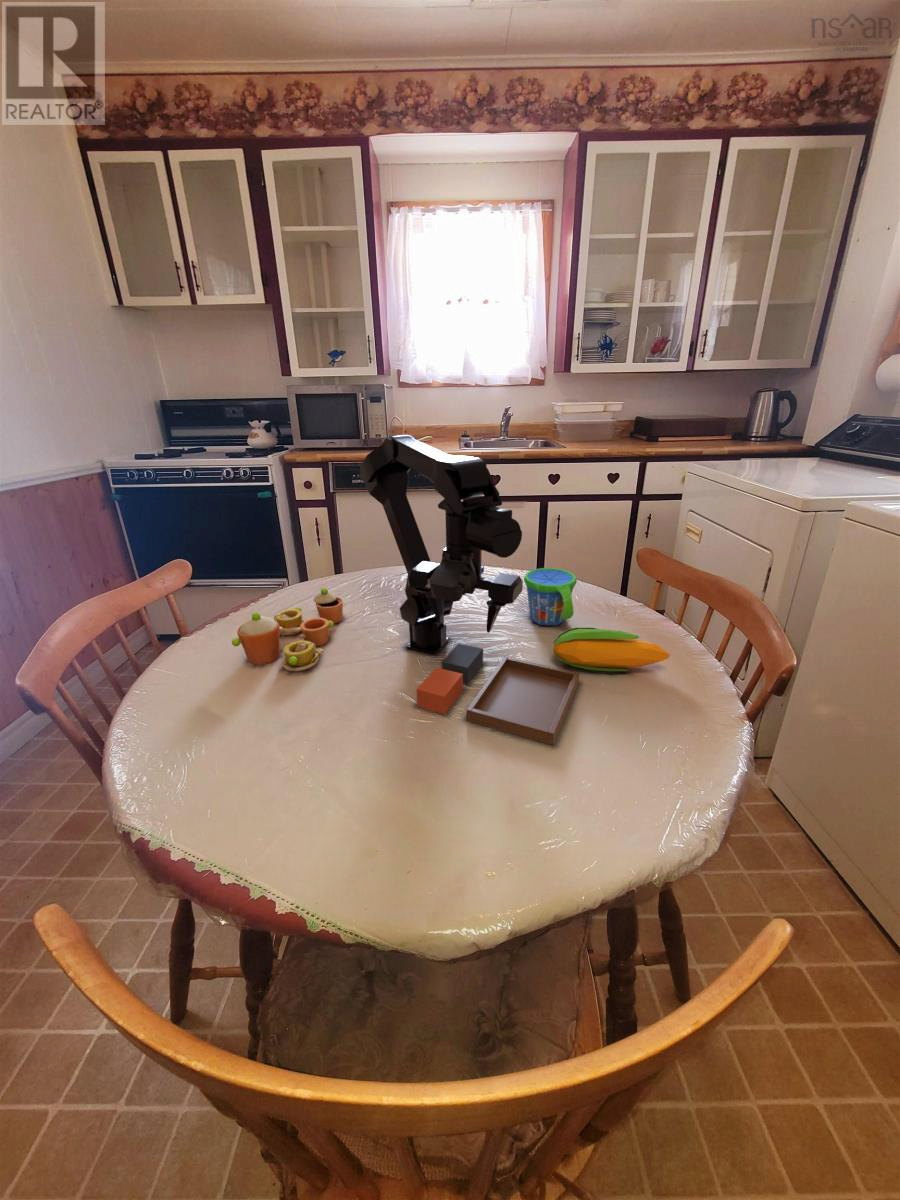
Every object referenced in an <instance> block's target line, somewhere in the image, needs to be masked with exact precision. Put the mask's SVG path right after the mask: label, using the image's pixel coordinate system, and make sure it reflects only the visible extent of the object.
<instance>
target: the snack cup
mask: <svg viewBox="0 0 900 1200" xmlns="http://www.w3.org/2000/svg"><path fill="white" fill-rule="evenodd" d="M577 581H578V579H577V577H576V575H575V574H574V573H572V572H570V571H568V570H566V569H562V568H555V567H542V568H541V567H540V568H535V569H532V570H530V571H528V572H526V573H525V574H524V576H523V583H524V584H525V586H526V593H527V594H526V595H527V602H528V611H529V617H530V619H531V621H533V622H534V623H536V624H537V625H539V626H547V627H548V626H550V627H551V626H553V627H554V626H555V627H557V626H558V625H560V624H562V623H564V622H565V621H566V620H570V619H571V618H572V617H573V616H574V605H573V595H572V594H573V590H574V588H575V586H576V584H577V583H578V582H577Z"/></svg>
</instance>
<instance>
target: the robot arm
mask: <svg viewBox="0 0 900 1200" xmlns="http://www.w3.org/2000/svg"><path fill="white" fill-rule="evenodd" d="M487 466H488V465H487V463H486V462H485V461H484V460H483V459H482V458H479V457H474V456H469V455H453V454H448V453H446V452H443V451H441V450H439V449H437V448H435V447H432V446H430V445H428V444H426V443H424V442H422V441H420V440H417V439H416V438H415V436H413V435H410V434H400V435H389V436H388V437H386V438H385V439H384V441H383V442H382V444H381V445H379V446H377V447H376V448H375V449H373V450H372V451H371V452H368V454H366V456H365V457H364V459H363V460H362V463H360V465H359V476H360V478H361V481H362V482H363V483H364V485H365V487H366V489H367V491H368V494H369V495H370V496H371V497H372V498H373V499H375V500H376V501H377V502H378V503H380V504H381V505H382V508H383V510H384V513H385V516H386V518H387V521H388V524H389V527H390V529H391V533H392V535H393V538H394V540H395V543H396V546H397V548H398V550H399V551H398V552H399V553H400V557H401V559H402V562H403V565H404V568H405V570H406V573H407V576H406V577H407V578H406V583H405V588H404V593H405V596H406V599H405V601H404V602H402V605H400V606H399V612H400V617H401V619H402V620H404V622H406V623H408V630H409V632H408V633H409V642H408V643H406V644H405V648H406V649H409V650H413V651H418V652H422V653H426V654H431V655H435V654H437V653H438V652H439V651H440V650H441V648H443V647H444V645H446V643H447V642H449V637H447V635H448V634H447V624H446V623H445V617H446V616H449V615H451V612H452V609H453V606H454V603H456V602H459V601H461V600H462V598H463V596H465V595H466V594H467V595H473V594H474V592H475V590H477V589H478V590H482V591H487V596H488V597H489V598H488V599H487V601H486V602H485V603H486V606H487V617H486V633H488V634H489V633H490V632H491V631H492V630H493V627H494V626H495V625H494V624H495V623H496V620H497V618H498V615H499V613H500V611H501V609H502V607H506V606H507V605H510V604H513V603H514V602H515V601H516V600H517V599H518V597H519V596H520V595H521V594H522V593H523V588H524V580H523V579H522V577H521V576H520V575H519V574H518V575H517V574H509V573H504V572H499V573H497V575H496V576H495V577H494V578H489V577H482V574H484V572H485V566H483V565H482V551H483V552H487V553H488V554H491V555H493V556H496V557H499V558H502V559H505V558H509V557H511V556H512V555H514V553H516V551H517V550H518V549H519V547H520V544H521V542H522V537H523V530H522V529H521V526H520V523H519V522H518V520H516V519H514V518H513V510H512V509H510V508H506V507H504V508H502V507H500V506H503V501H502V499H501V497H500V492H499V490H498V488H497V487H496V484H495V483H494V480H493V477H492V475H491V472H490V470H489V469H488V467H487ZM411 470H412V471H414V472H416V473H418V474H419V475H422V476H423V477H425V478H427V479H429V480H430V481H431V482H432V485H433V490H434V491H436V492H437V494H439V495H440V496H441V497H442V498H443V499H442V500H441V501H439V503H438V504H437V508H438V509H440V510H443V511H444V512H445V513H444V515H445V548H443V549H442V553H441V561H440V563H439V562H432V561H431V559H430V555H429V553H428V549H427V547H426V544H425V542H424V539H423V535H422V533H421V531H420V528H419V526H418V522H417V520H416V518H415V515H414V512H413V509H412V507H411V504H410V501H409V499H408V496H407V492H408V487H409V483H410V477H409V472H410V471H411Z"/></svg>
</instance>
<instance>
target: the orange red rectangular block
mask: <svg viewBox="0 0 900 1200" xmlns="http://www.w3.org/2000/svg"><path fill="white" fill-rule="evenodd" d="M433 669H434V670H433V671H431V673H430V674H428V676H427V677H426V678H425V679H424V680H423V682H422V683H421V684H419V686H418V687H417V688H416V702H417V703H416V705H417V707H418V708H422V709H425V710H429V711H432V712H435V713H439V714H442V715H446V714H447V713H448V711H449V710H450V709H451V707H452V706H453V705H454V703H455V702H456V701H457V699H459V697H460V695H461V694H462V693H463V692H464V683H463V674H461V673H457V672H453V671H449V670H445V669H442V667H441V668H440V667H437V666H436V667H435V668H433Z"/></svg>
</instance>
